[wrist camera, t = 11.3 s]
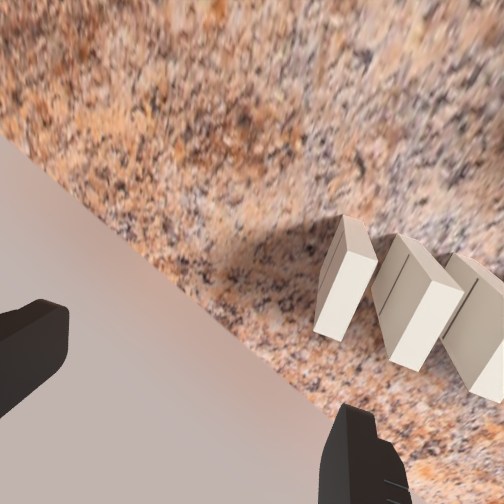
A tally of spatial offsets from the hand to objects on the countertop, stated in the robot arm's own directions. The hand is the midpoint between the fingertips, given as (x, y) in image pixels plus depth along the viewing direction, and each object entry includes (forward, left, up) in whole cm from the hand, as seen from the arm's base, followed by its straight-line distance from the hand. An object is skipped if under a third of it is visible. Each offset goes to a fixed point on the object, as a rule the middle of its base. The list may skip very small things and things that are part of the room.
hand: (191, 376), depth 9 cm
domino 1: (+5, 0, -20) cm, 20 cm away
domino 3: (+13, 0, -20) cm, 24 cm away
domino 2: (+9, 0, -20) cm, 22 cm away
